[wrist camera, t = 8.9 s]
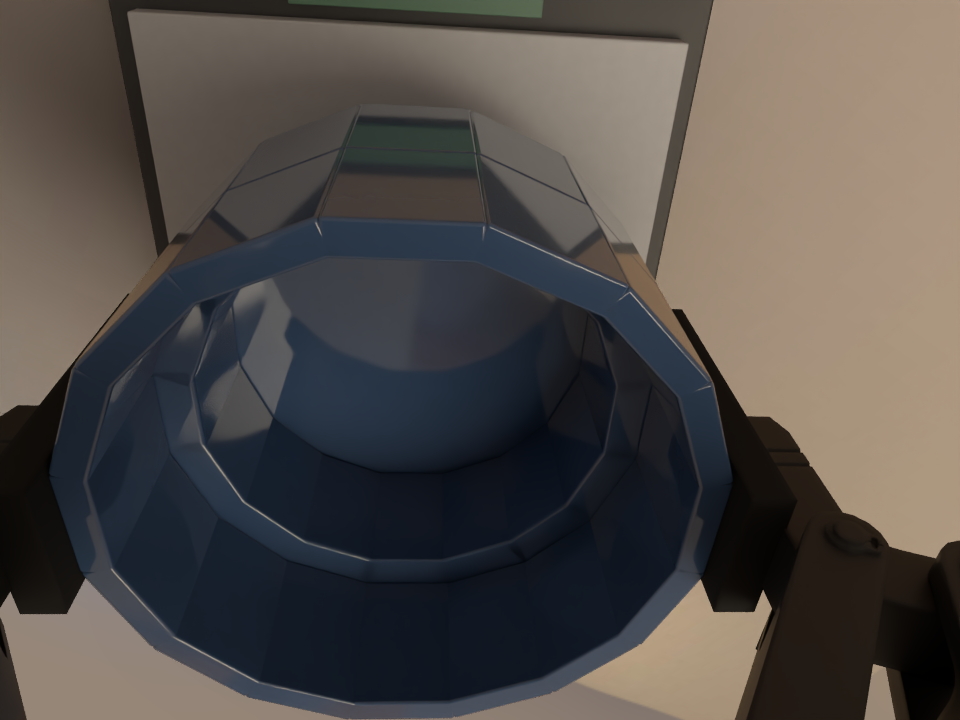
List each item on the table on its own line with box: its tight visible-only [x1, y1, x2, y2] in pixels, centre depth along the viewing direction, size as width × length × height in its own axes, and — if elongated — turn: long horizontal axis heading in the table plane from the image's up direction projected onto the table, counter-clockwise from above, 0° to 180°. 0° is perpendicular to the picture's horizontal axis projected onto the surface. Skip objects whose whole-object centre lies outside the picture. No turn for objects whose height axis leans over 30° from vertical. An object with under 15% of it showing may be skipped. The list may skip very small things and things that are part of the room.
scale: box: [108, 0, 713, 280], centre depth 21 cm, size 15×14×3 cm
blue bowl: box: [49, 104, 733, 719], centre depth 15 cm, size 11×11×7 cm
